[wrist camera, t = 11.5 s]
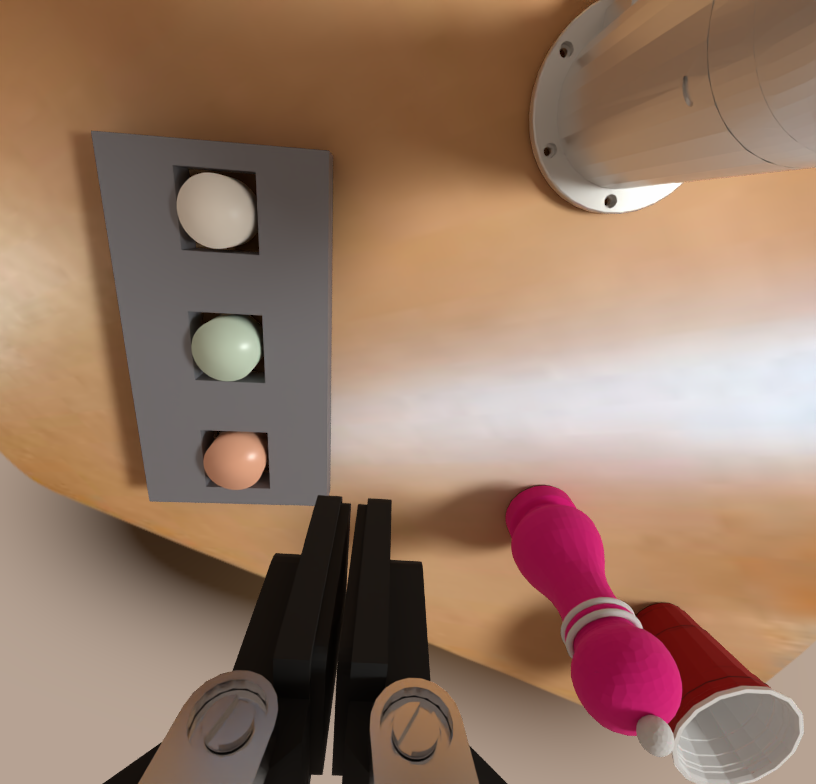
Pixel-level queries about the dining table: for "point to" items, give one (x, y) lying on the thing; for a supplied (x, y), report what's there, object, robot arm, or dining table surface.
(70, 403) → the dining table surface
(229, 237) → the cream button
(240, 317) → the sage button
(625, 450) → the dining table surface
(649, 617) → the plastic cup
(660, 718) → the pepper mill
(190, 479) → the button panel
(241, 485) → the terracotta button
